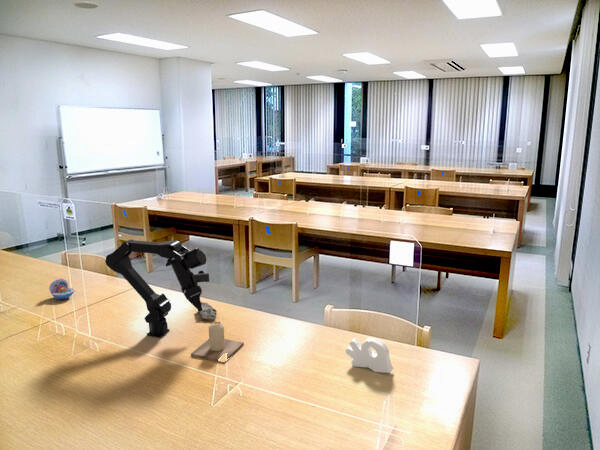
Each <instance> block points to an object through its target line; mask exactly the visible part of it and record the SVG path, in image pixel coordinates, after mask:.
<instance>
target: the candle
mask: <svg viewBox="0 0 600 450" xmlns="http://www.w3.org/2000/svg"><path fill="white" fill-rule="evenodd" d="M208 339H209V344H210V350H212V351H221V350H223V349H224V348H225V339H226V338H225V325H224V324H223V323H222V322H221V321H216V320H215V321H212V322H211V324H209V325H208Z"/></svg>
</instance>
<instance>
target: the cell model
mask: <svg viewBox="0 0 600 450" xmlns="http://www.w3.org/2000/svg"><path fill="white" fill-rule="evenodd" d="M48 288H49V289H48V290H49V294H50V295H51V296H53V297H54V298H55V299H57V300H65V299H66V300H67V299H69V298H71V296H72V295H73V294H74V293H75V292H76V290H75V289H74V288H73V287H69V282H68V281H67V280H66V279H64V278H58V279H55V280H53V281H52V282H51V283H50V284H49V287H48Z"/></svg>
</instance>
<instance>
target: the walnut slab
mask: <svg viewBox="0 0 600 450" xmlns="http://www.w3.org/2000/svg"><path fill="white" fill-rule="evenodd" d="M224 339H225V348H224V349H223V350H221V351H212V350H210V344H209V338H208V339H207V340H206V341H204V342H203V343H202V344H200V345H199V346H198V347H197V348H196V349H195V350H194V351H192V352H191V353H190V357H194V358H199V359H202V360H203V359H204V360H209V361H212V362H213V361H214V362H218V359H219V358H220V357H221V356H222V355H223V354H225V353H228V354H227V359H228V358H230V357H231V356H232V357H233V356H234V355H235V354H236V353H237V352H238V351H239V350H240V349H242V347H243V346H244V342H242V341H238V340H234V339H233V340H231V339H226V338H224ZM232 357H231V358H232ZM231 358H230V359H231Z"/></svg>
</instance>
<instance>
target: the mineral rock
mask: <svg viewBox="0 0 600 450" xmlns="http://www.w3.org/2000/svg"><path fill="white" fill-rule="evenodd" d="M201 306H202V311H199V310H198V309H197V314H198V317H199V318H200V319H204V320H205V319H209V320H215V319H216V318H217V314H218V313H217V310H216V309H215V307H213V306H212V305H210V304H209V303H208V302H203V301H201Z"/></svg>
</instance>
